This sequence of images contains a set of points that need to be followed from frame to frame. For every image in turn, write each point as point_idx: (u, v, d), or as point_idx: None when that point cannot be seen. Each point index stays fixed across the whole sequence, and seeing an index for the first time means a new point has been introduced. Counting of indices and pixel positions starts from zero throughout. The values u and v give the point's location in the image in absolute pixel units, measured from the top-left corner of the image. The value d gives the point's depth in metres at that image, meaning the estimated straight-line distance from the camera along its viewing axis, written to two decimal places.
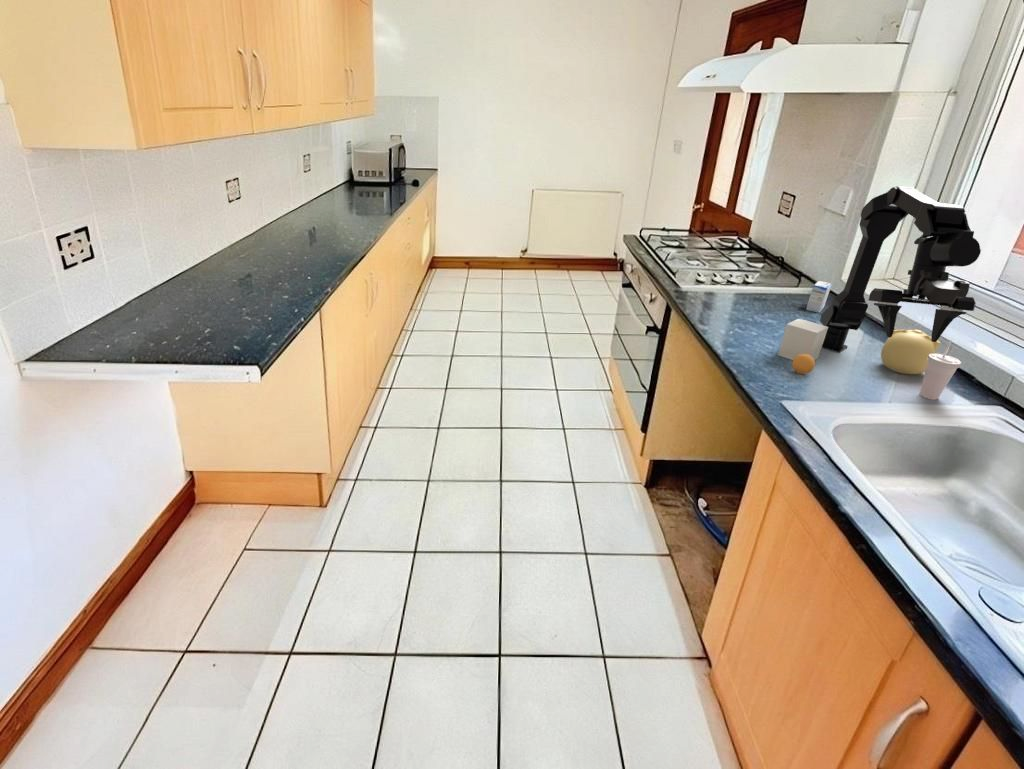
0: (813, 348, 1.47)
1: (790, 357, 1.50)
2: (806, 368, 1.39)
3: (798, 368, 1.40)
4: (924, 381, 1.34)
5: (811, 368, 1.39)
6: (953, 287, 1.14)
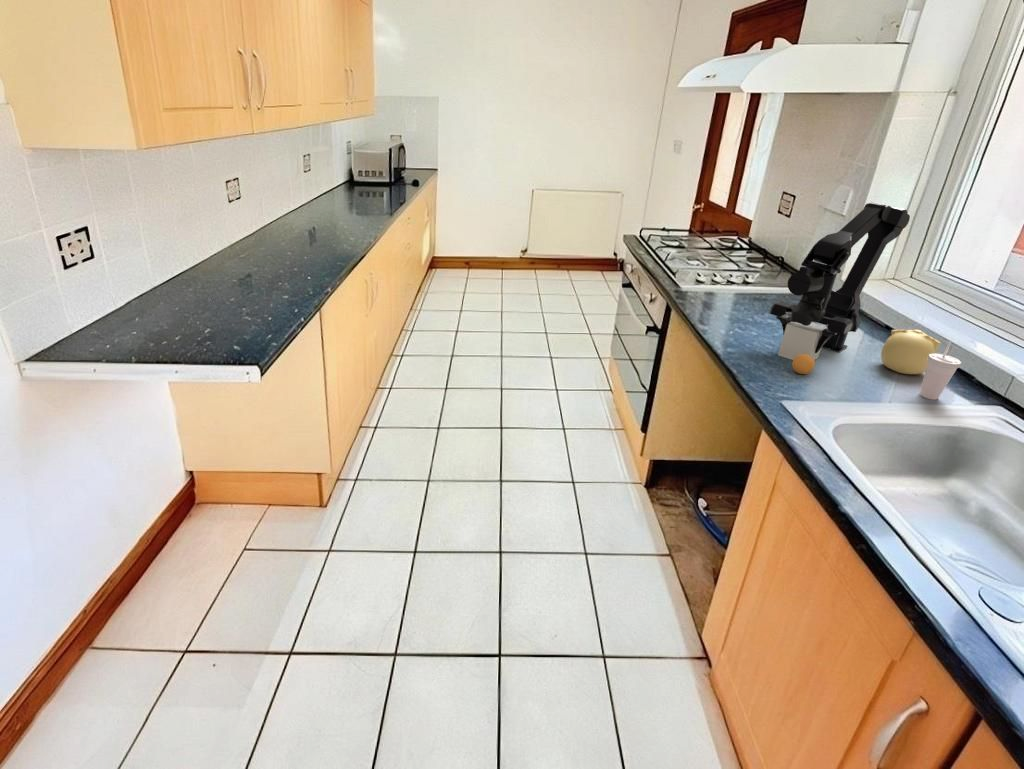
0: (813, 348, 1.47)
1: (790, 357, 1.50)
2: (806, 368, 1.39)
3: (798, 368, 1.40)
4: (924, 381, 1.34)
5: (811, 368, 1.39)
6: (807, 312, 1.41)
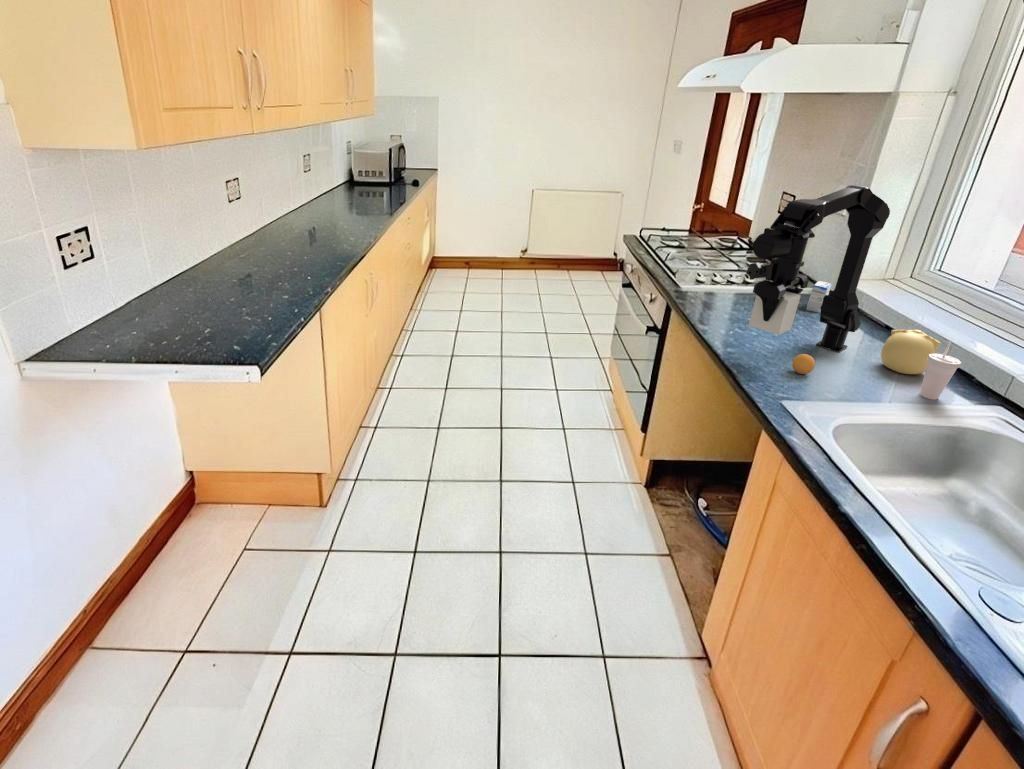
0: (756, 310, 1.43)
1: None
2: (806, 368, 1.39)
3: (798, 368, 1.40)
4: (924, 381, 1.34)
5: (811, 368, 1.39)
6: None
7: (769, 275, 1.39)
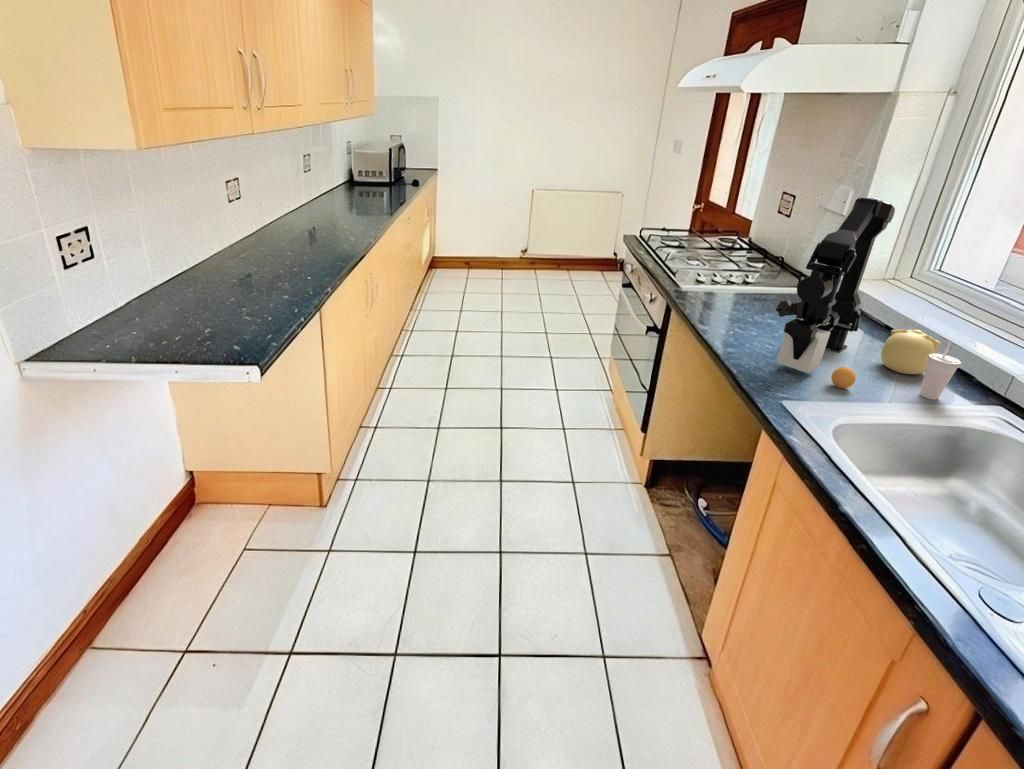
0: (785, 347, 1.40)
1: None
2: (836, 374, 1.35)
3: (842, 379, 1.33)
4: (924, 381, 1.34)
5: (835, 370, 1.36)
6: None
7: (800, 313, 1.36)
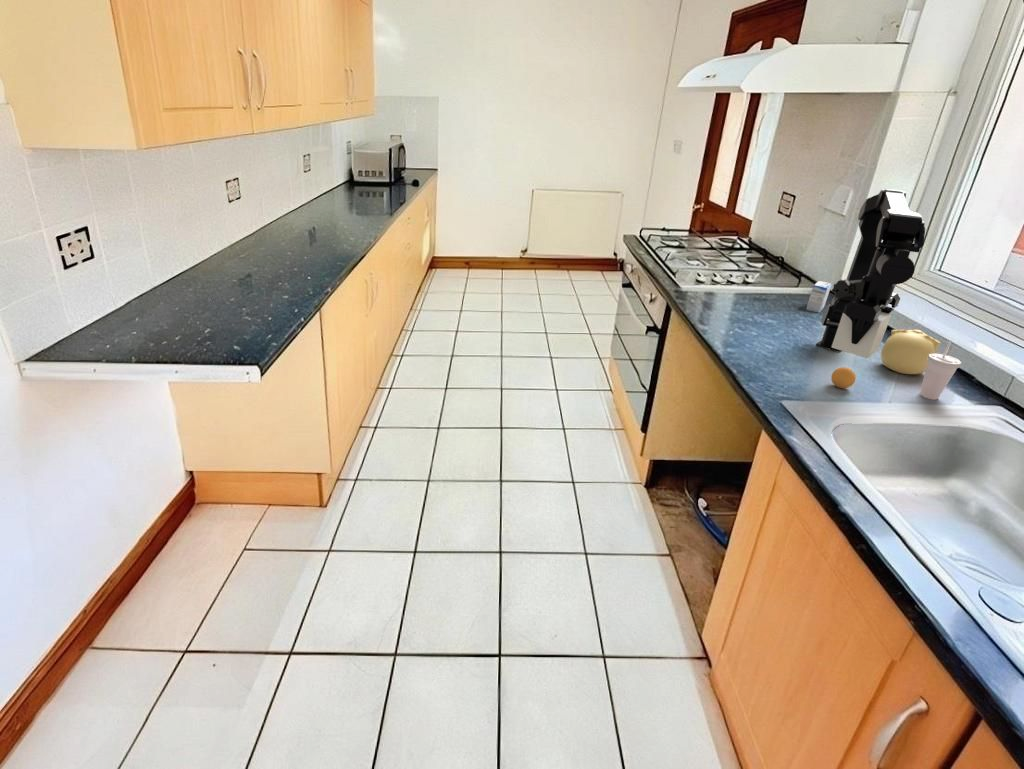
0: (842, 331, 1.30)
1: None
2: (836, 374, 1.35)
3: (842, 379, 1.33)
4: (924, 381, 1.34)
5: (835, 370, 1.36)
6: None
7: (860, 294, 1.26)
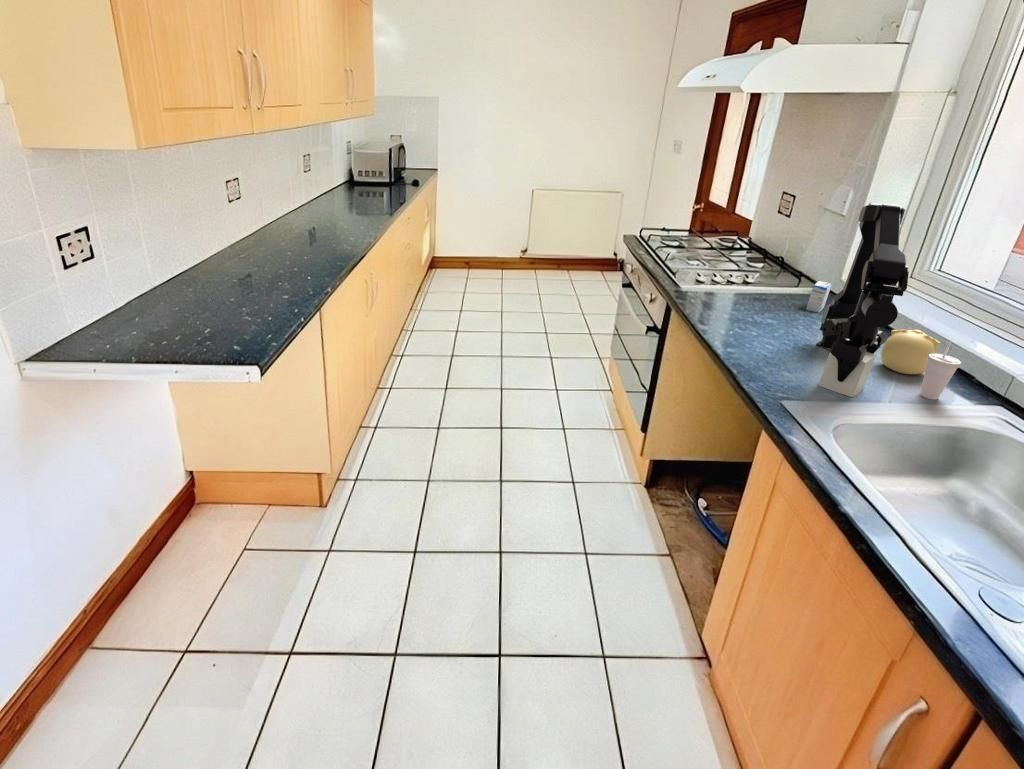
0: (828, 370, 1.34)
1: None
2: None
3: None
4: (924, 381, 1.34)
5: None
6: None
7: (846, 333, 1.30)
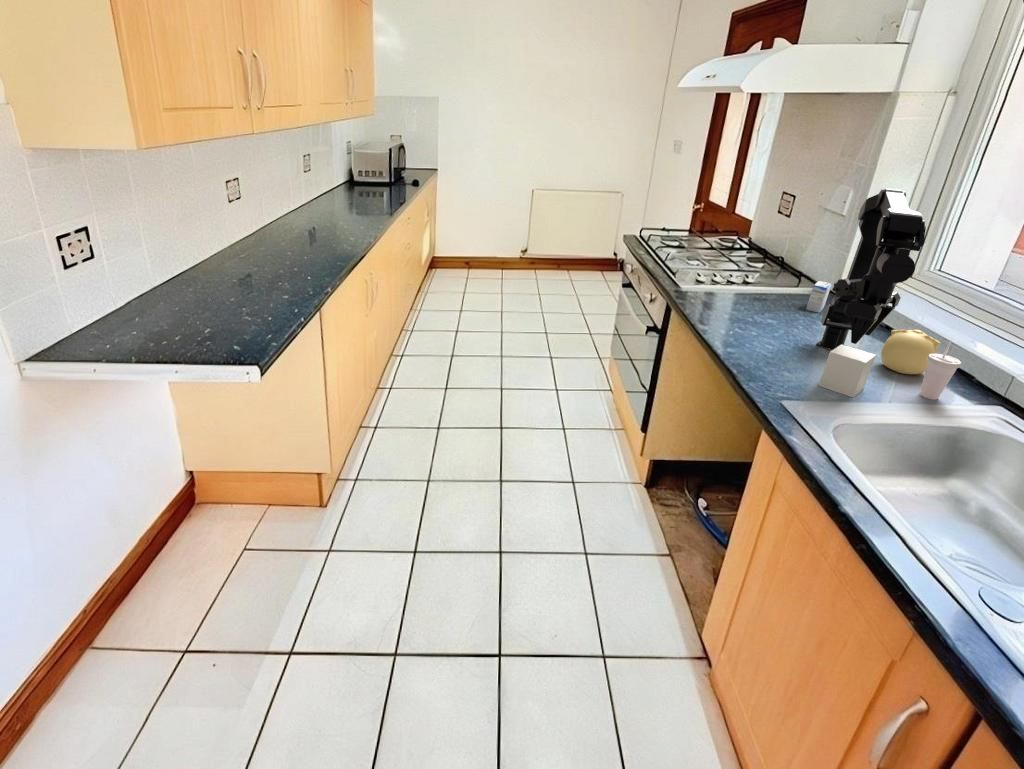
0: (828, 370, 1.34)
1: None
2: None
3: None
4: (924, 381, 1.34)
5: None
6: None
7: (860, 293, 1.26)
